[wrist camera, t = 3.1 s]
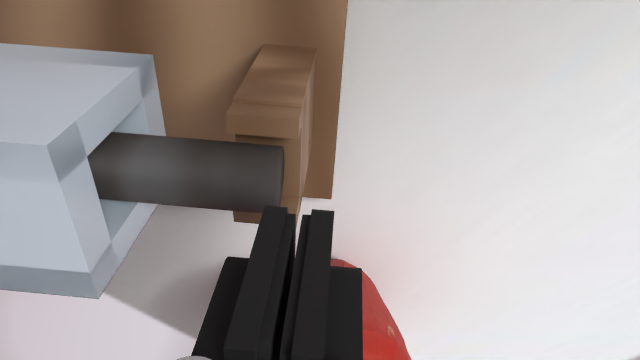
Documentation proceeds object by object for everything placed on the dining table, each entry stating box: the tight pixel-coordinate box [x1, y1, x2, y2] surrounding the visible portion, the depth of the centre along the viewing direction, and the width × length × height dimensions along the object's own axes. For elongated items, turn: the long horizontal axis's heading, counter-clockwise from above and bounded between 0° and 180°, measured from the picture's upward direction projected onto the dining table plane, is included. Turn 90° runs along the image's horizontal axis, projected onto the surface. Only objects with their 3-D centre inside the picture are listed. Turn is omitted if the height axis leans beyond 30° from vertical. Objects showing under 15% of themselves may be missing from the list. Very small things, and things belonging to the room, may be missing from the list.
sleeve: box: [0, 43, 166, 299], centre depth 13 cm, size 5×5×6 cm
